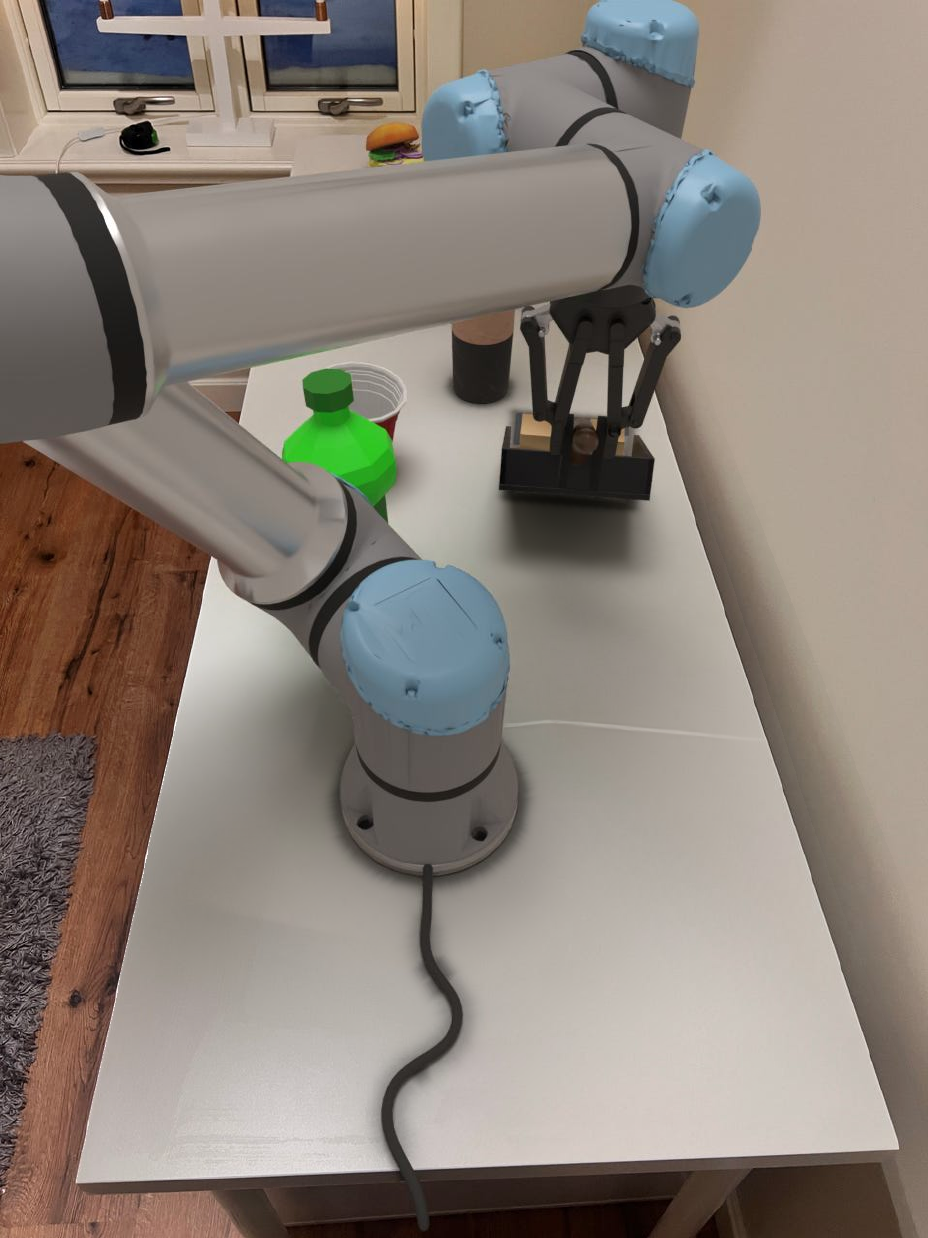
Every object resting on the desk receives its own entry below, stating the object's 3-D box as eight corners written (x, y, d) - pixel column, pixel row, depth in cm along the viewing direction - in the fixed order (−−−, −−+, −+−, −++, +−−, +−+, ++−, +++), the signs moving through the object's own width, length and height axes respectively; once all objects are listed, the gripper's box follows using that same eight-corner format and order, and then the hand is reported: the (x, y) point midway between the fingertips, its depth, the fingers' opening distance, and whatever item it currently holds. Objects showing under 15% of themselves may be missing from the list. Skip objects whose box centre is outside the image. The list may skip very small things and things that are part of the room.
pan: (663, 528, 84) (676, 436, 81) (494, 516, 84) (500, 424, 82) (634, 471, 108) (643, 399, 105) (503, 462, 109) (508, 390, 106)
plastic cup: (397, 511, 107) (393, 424, 98) (305, 497, 108) (292, 410, 99) (419, 452, 114) (417, 365, 105) (332, 439, 115) (323, 353, 106)
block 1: (556, 415, 112) (553, 443, 115) (522, 413, 112) (520, 440, 115) (554, 436, 110) (551, 463, 113) (520, 433, 110) (518, 461, 113)
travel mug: (443, 398, 121) (443, 248, 106) (461, 366, 126) (463, 218, 111) (500, 409, 120) (509, 259, 105) (516, 376, 125) (526, 228, 110)
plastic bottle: (402, 560, 102) (380, 345, 84) (413, 627, 94) (392, 406, 77) (308, 572, 101) (266, 357, 83) (312, 641, 93) (267, 420, 76)
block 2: (624, 420, 112) (619, 448, 115) (590, 418, 112) (586, 445, 115) (624, 441, 109) (619, 469, 112) (589, 438, 109) (586, 466, 112)
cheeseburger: (385, 196, 158) (375, 130, 153) (360, 187, 166) (349, 124, 160) (438, 183, 162) (431, 118, 156) (411, 175, 170) (403, 113, 164)
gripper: (710, 222, 74) (657, 461, 92) (514, 210, 75) (499, 449, 92) (718, 270, 69) (661, 513, 87) (508, 256, 70) (494, 500, 87)
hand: (577, 480), depth 89 cm, fingers closed on pan, 2 cm apart
